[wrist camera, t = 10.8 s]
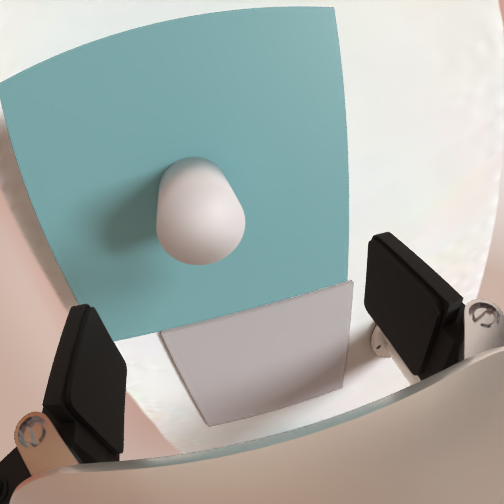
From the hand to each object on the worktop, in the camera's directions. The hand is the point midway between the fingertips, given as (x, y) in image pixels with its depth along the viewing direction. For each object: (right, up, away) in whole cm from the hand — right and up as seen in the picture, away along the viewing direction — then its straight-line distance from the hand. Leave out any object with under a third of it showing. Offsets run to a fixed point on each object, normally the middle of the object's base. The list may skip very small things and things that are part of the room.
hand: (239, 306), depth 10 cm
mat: (+3, -13, +30) cm, 33 cm away
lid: (-3, +6, +9) cm, 11 cm away
